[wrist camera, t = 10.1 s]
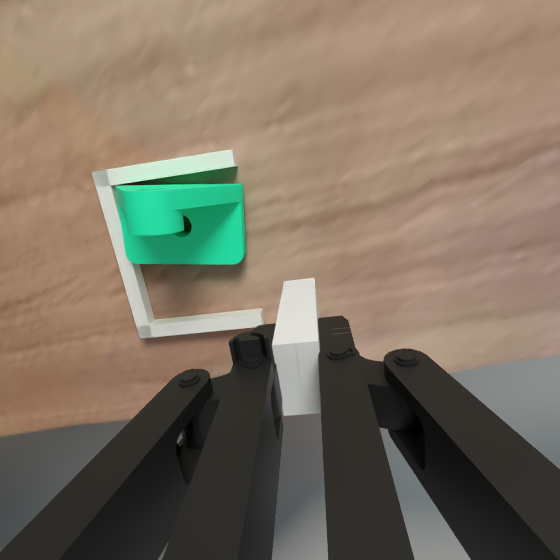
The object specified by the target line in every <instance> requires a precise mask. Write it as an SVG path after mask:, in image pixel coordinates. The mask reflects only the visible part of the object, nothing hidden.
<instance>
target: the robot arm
mask: <svg viewBox="0 0 560 560" xmlns="http://www.w3.org/2000/svg"><path fill="white" fill-rule="evenodd" d="M229 346H230V351H231V356H232V360H233V366H232V369H231V372H230V373H228V374H226V375H223V376H219V377H216V378H212V379H211V378H210V374H209V372H208V371H206V370H204V369H190V370H186V371H184V372H182V373H180V374H178V375H177V376H175V377H174V378H173V379H172V380H171V381H170V382H169V383H168V384H167V385H166V386H165V387H164V388H163V389H162V390H161V391H160V392H159V393H158V394H157V395H156V396H155V397H154V398H153V399H152V400H151V401H150V402H149V403H148V404H147V405H146V406H145V407H144V408H143V409H142V410H141V411H140V412H139V413H138V414H137V415H136V416H135V417H134V418H133V419H132V420H131V421H130V422H129V423H128V424H127V425H126V426H125V427H124V428H123V429H122V430H121V431H120V432H119V433H118V434H117V435H116V436H115V437H114V438H113V439H112V440H111V441H110V442H109V443H108V444H107V445H106V446H105V447H104V448H103V449H102V450H101V451H100V452H99V453H98V454H97V455H96V456H95V457H94V458H93V459H92V460H91V461H90V462H89V463H88V464H87V465H86V466H85V467H84V468H83V469H82V470H81V471H80V472H79V473H78V474H77V475H76V476H75V477H74V479H72V481H70V482H69V484H68V485H67V486H65V488H63V489H62V490H61V492H60V493H58V494H57V495H56V497H54V499H52V500H51V502H50V503H49V504H48V505H47V506H46V507H45V508H44V509H43V510H42V511H41V512H40V513H39V514H38V515H37V516H36V517H35V518H34V519H33V520H32V521H31V522H30V523H29V524H28V525H27V526H26V527H25V528H24V529H23V530H22V531H21V532H20V533H19V534H18V535H17V536H16V537H15V538H14V539H13V540H12V541H11V542H10V543H9V544H8V545H7V546H6V547H5V548H4V549H3V550H2V551H1V552H0V560H158V558H159V556H160V555H161V553H162V551H163V550H164V548H165V546H166V545H167V543H168V546H167V548H166V551H165V553H164V556H163V559H162V560H271V559H272V548H273V536H274V525H275V514H276V502H277V491H278V480H279V468H280V456H281V445H282V434H283V423H282V416H281V409H282V407H283V414H284V416H286V415H300V414H314V413H321V420H322V421H321V423H322V443H323V461H324V482H325V501H326V520H327V541H328V560H414V556H413V553H412V549H411V545H410V541H409V538H408V534H407V530H406V527H405V523H404V519H403V515H402V511H401V508H400V504H399V500H398V497H397V493H396V489H395V485H394V481H393V478H392V474H391V470H390V467H389V463H388V459H387V455H386V452H385V448H384V444H383V440H382V437H381V433H380V429H379V427H380V428H386V429H388V432H389V435H390V437H391V438H392V440H393V442H394V443H395V444H396V446H397V448H398V449H399V450H400V452H401V454H402V455H403V457H404V458H405V460H406V461H407V463H408V464H409V466H410V467H411V468H412V470H413V472H414V473H415V475H416V477H417V478H418V480H419V481H420V483H421V484H422V486H423V487H424V489H425V490H426V492H427V493H428V495H429V496H430V498H431V499H432V501H433V502H434V504H435V505H436V507H437V508H438V510H439V511H440V513H441V514H442V516H443V517H444V519H445V521H446V522H447V524H448V525H449V527H450V528H451V530H452V531H453V533H454V534H455V536H456V537H457V539H458V540H459V542H460V543H461V545H462V546H463V548H464V549H465V551H466V552H467V554H468V556H469V557H470V559H471V560H560V469H559V468H557V467H556V466H555V465H554V464H553V463H552V462H551V461H549V460H548V459H547V458H546V457H545V456H544V455H542V454H541V453H540V452H539V451H538V450H537V449H535V448H534V447H533V446H532V445H531V444H530V443H528V442H527V441H526V440H525V439H524V438H523V437H521V436H520V435H519V434H518V433H517V432H516V431H514V430H513V429H512V428H511V427H510V426H509V425H507V424H506V423H505V422H504V421H503V420H502V419H500V418H499V417H498V416H497V415H496V414H495V413H493V412H492V411H491V410H490V409H489V408H487V407H486V406H485V405H484V404H483V403H482V402H481V401H479V400H478V399H477V398H476V397H475V396H474V395H472V394H471V393H470V392H469V391H468V390H467V389H466V388H464V387H463V386H462V385H461V384H460V383H458V382H457V381H456V380H455V379H454V378H453V377H452V376H450V375H449V374H448V373H447V372H446V371H445V370H443V369H442V368H441V367H440V366H439V365H438V364H436V363H435V362H434V361H433V360H432V359H431V358H429V357H428V356H427V355H426V354H424V353H422V352H420V351H417V350H413V349H398V350H394V351H391V352H389V353H388V354H386V355H385V357H384V362H381V361H373V360H369V359H365V358H363V357H361V356H360V354H359V352H358V350H357V349H356V348H355V345H354V341H353V337H352V333H351V329H350V326H349V322H348V320H347V319H346V318H344V317H343V316H334V317H325V318H319V312H318V303H317V295H316V287H315V279H314V278H309V279H300V280H292V281H284V285H283V291H282V296H281V301H280V306H279V311H278V316H277V321H276V323H275V324H266V325H258V326H257V327H256V328H255V329H254V330H253V331H250V332H245V333H242V334H239V335H237V336H235V337H233V338H232V339H231V340H230V341H229ZM180 433H182V437H183V438H182V439H181V441H180V442H179V443H178V444H177V439H178V437H179V435H180ZM168 541H169V542H168Z"/></svg>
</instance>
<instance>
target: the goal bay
mask: <svg viewBox="0 0 560 560" xmlns="http://www.w3.org/2000/svg"><path fill="white" fill-rule="evenodd" d="M236 166H238V164H237V158H236V152H235V150H233V149H231V150H225V151H219V152H212V153H206V154H200V155H194V156H188V157H182V158H175V159H169V160H163V161H157V162H151V163H144V164H138V165H132V166H126V167H120V168H114V169H107V170H101V171H95V172H92V175H93V178H94V182H95V185H96V189H97V192H98V196H99V199H100V202H101V206H102V209H103V213H104V216H105V220H106V223H107V227H108V230H109V233H110V237H111V240H112V244H113V247H114V251H115V254H116V258H117V261H118V265H119V268H120V271H121V275H122V278H123V282H124V285H125V289H126V292H127V296H128V299H129V302H130V306H131V309H132V313H133V316H134V320H135V323H136V327H137V330H138V333H139V337H140V339H141V338H151V337H161V336H171V335H181V334H191V333H202V332H212V331H222V330H232V329H242V328H252V327H257V326H258V325H263V324H264V321H265V320H264V315H263V309H262V308H259V309H250V310H240V311H231V312H221V313H212V314H202V315H193V316H183V317H174V318H164V319H155V318H154V314H153V311H152V307H151V303H150V300H149V296H148V292H147V289H146V285H145V281H144V278H143V274H142V270H141V266H140V264H135V263H132V262H131V261H129V260H128V258H127V257H126V253H125V247H124V241H123V234H122V228H121V221H120V214H119V208H118V201H117V195H116V188H115V186H119V185H120V184H127V183H133V182H139V181H146V180H152V179H159V178H165V177H172V176H178V175H184V174H191V173H197V172H204V171H210V170H217V169H223V168H229V167H236Z"/></svg>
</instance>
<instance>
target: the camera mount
mask: <svg viewBox="0 0 560 560" xmlns="http://www.w3.org/2000/svg"><path fill="white" fill-rule="evenodd" d="M115 188H116V195H117V201H118V208H119V214H120V221H121V228H122V234H123V241H124V247H125V253H126V257H127V258H128V260H129V261H131V262H132V263H135V264H237V263H239V262H240V261H241V260H242V259H243V257H244V256H245V254H246V241H245V220H244V199H243V184H161V185H122V186H115ZM183 216H186V217H187V218H188V219H189V220H190V222H191V225H192V229H191V232H190V233H188V232H185V231H183V230H184V221H183Z"/></svg>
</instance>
